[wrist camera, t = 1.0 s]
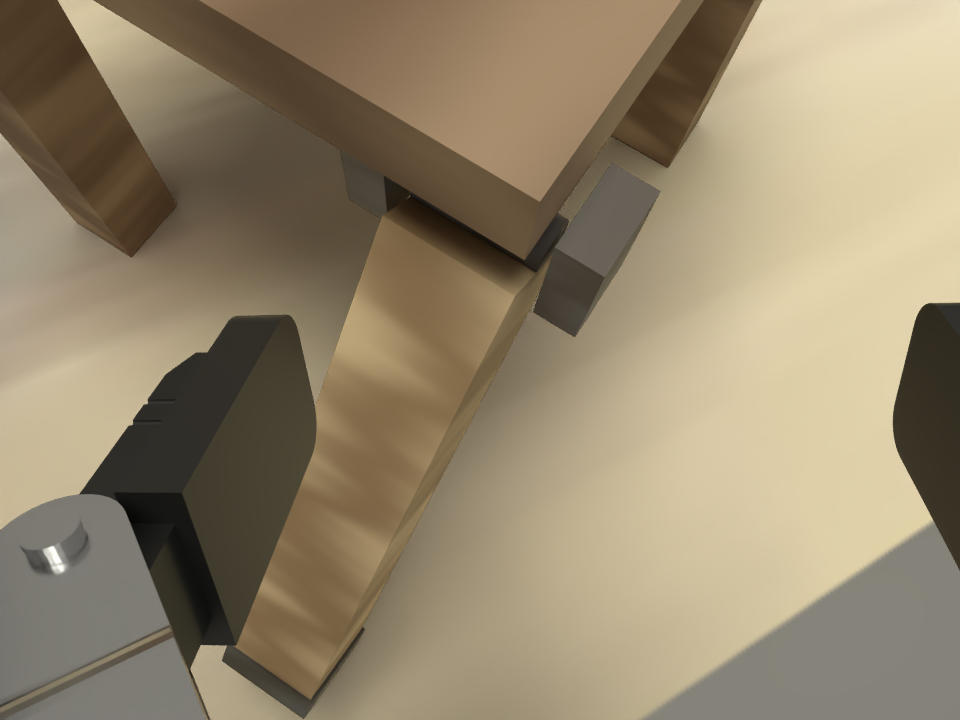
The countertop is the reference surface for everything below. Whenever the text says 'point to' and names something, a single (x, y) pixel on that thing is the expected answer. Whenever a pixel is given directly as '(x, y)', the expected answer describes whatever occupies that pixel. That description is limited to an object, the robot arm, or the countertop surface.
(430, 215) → the oak leg
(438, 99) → the walnut stool
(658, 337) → the countertop surface
